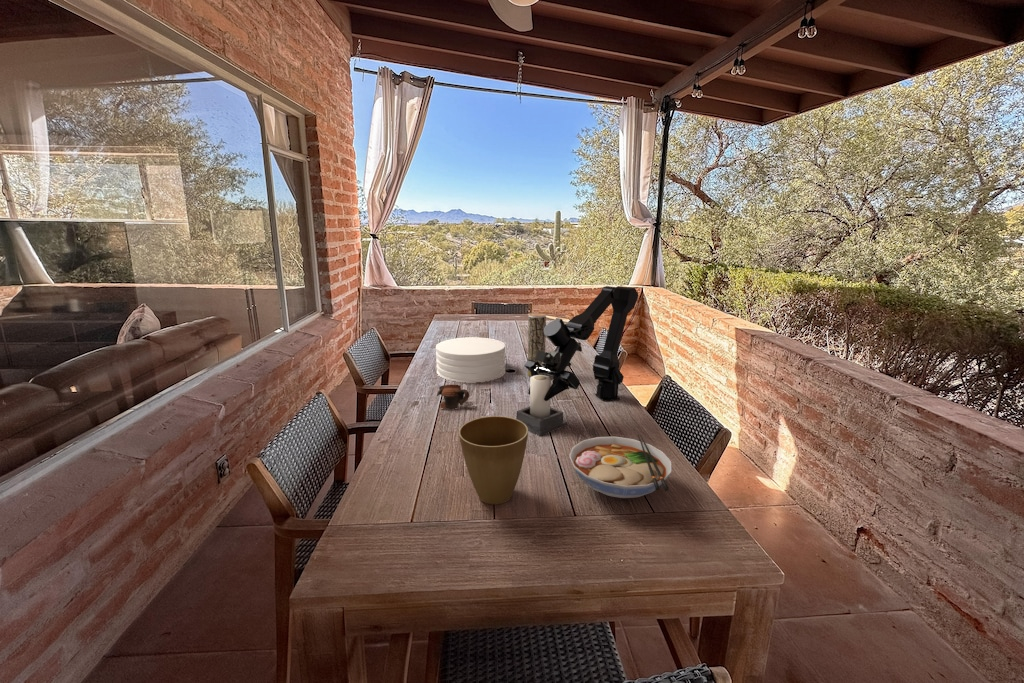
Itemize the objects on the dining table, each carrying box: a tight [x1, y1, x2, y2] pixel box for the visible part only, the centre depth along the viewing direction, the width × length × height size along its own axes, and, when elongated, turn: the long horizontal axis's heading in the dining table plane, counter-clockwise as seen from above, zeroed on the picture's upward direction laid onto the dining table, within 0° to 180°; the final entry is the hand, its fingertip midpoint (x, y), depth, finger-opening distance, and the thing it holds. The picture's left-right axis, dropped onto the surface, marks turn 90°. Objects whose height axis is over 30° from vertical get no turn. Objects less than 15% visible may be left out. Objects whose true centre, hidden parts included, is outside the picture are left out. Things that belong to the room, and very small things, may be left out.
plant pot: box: [458, 415, 529, 505], centre depth 100 cm, size 15×15×16 cm
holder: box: [516, 406, 569, 437], centre depth 138 cm, size 12×12×4 cm
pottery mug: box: [436, 384, 470, 410], centre depth 153 cm, size 12×10×8 cm
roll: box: [529, 375, 552, 419], centre depth 137 cm, size 6×6×13 cm
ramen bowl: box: [568, 434, 673, 499], centre depth 104 cm, size 25×23×8 cm
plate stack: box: [435, 336, 506, 384], centre depth 187 cm, size 28×28×12 cm
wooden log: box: [527, 312, 547, 377], centre depth 180 cm, size 7×7×25 cm
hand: (537, 397), depth 136 cm, fingers open, 6 cm apart
